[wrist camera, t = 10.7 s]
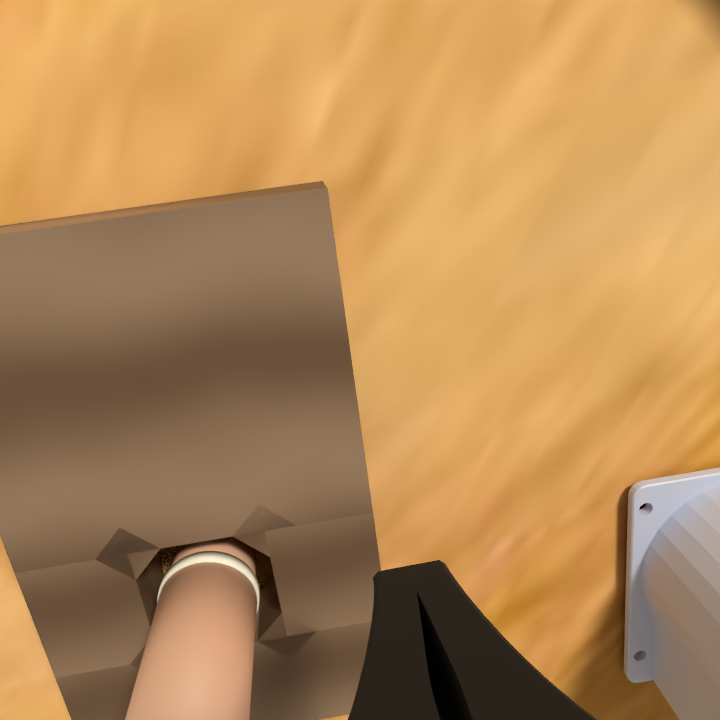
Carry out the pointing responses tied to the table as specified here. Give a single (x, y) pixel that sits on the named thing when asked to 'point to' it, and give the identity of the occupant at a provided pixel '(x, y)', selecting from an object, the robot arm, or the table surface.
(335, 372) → the board
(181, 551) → the peg
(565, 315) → the table surface
